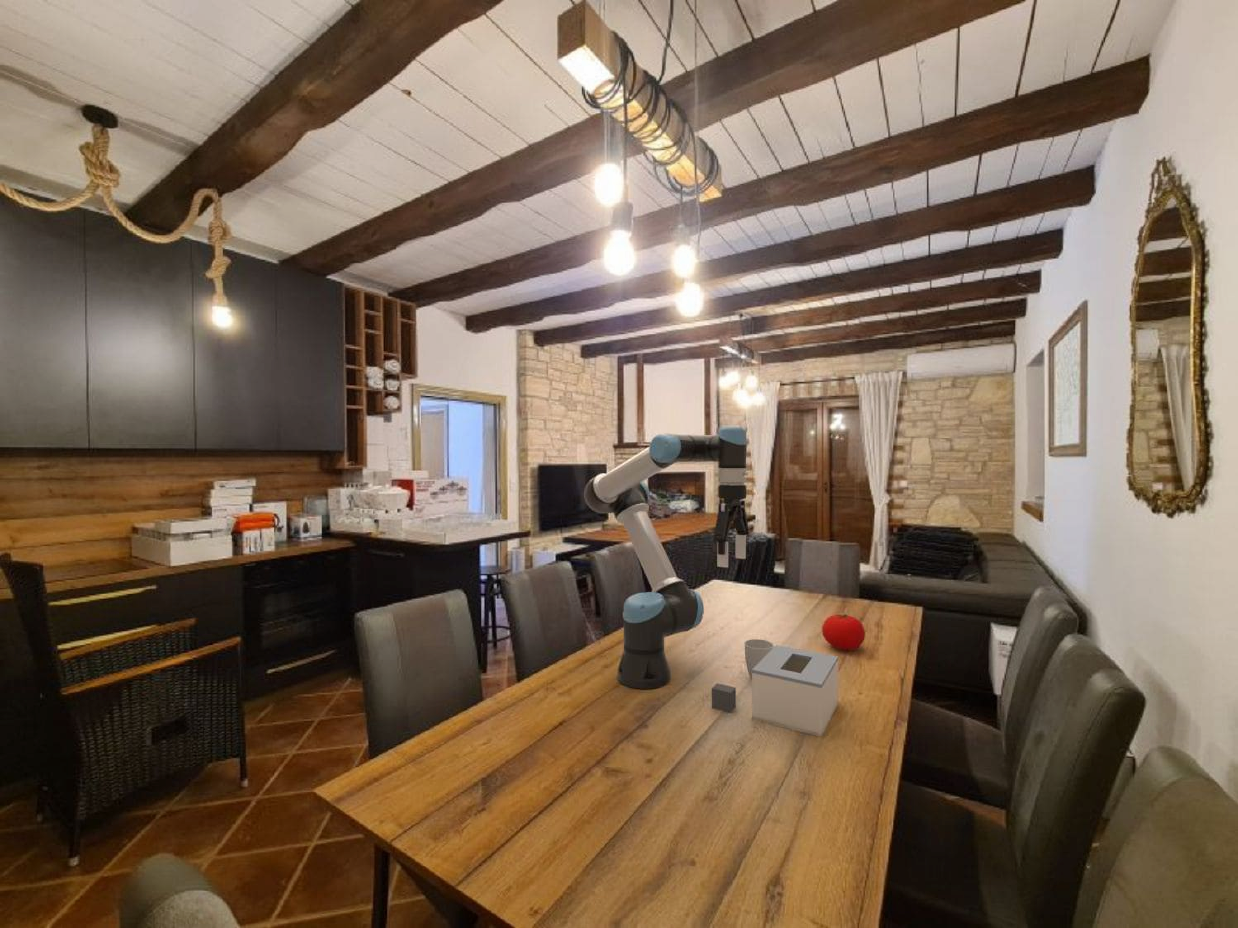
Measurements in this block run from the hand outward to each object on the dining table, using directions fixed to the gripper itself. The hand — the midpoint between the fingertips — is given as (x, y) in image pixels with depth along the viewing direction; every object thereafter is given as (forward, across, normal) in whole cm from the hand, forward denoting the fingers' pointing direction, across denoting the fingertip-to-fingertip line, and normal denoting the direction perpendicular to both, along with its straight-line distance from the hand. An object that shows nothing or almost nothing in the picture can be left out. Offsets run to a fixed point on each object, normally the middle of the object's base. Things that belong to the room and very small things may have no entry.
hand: (732, 562), depth 147 cm
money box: (+35, -3, -18) cm, 39 cm away
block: (+35, -11, -2) cm, 36 cm away
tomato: (+35, +50, -20) cm, 64 cm away
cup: (+35, +11, -4) cm, 37 cm away
